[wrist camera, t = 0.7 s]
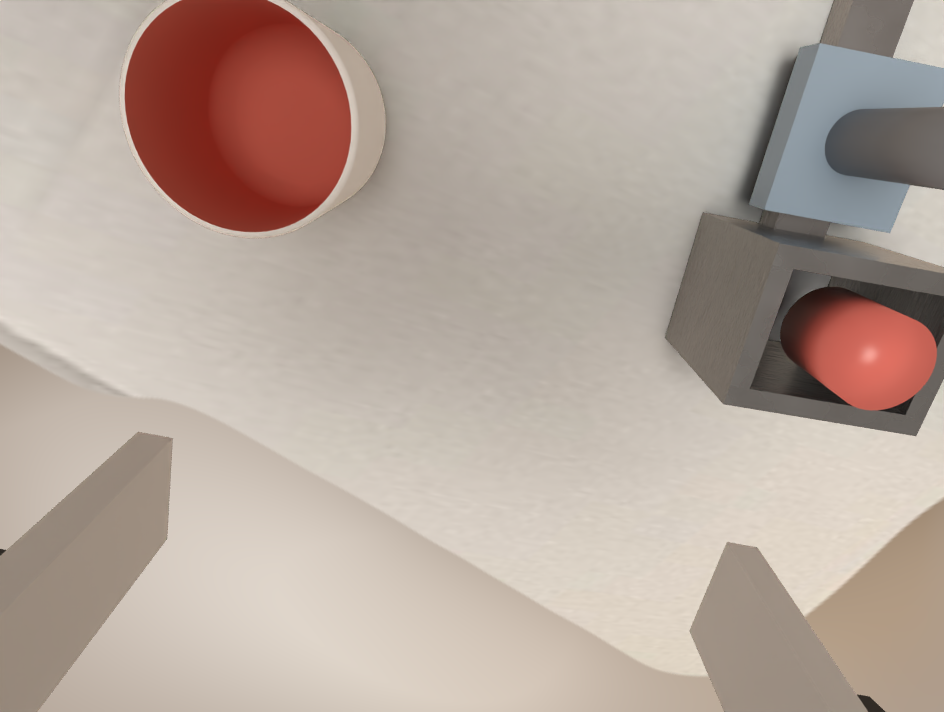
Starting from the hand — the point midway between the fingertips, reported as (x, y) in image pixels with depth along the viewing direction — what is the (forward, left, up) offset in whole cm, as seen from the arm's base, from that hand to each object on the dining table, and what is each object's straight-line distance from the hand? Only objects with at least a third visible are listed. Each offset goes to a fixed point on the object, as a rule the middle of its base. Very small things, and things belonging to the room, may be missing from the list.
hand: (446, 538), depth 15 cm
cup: (-8, -11, -26) cm, 29 cm away
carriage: (-12, +18, -26) cm, 34 cm away
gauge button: (-3, +18, -18) cm, 26 cm away
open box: (-3, +18, -26) cm, 32 cm away
